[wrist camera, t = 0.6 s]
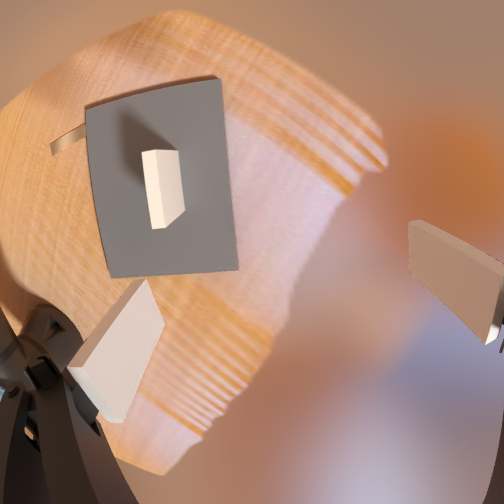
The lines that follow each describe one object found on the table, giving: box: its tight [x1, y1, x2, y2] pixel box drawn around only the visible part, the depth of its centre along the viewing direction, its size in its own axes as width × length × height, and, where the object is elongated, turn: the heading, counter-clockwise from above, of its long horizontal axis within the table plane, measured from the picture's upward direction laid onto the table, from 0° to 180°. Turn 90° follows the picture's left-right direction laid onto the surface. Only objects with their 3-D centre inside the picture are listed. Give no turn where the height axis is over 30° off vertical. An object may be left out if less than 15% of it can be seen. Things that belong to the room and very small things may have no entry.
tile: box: [142, 150, 185, 229], centre depth 30 cm, size 2×8×9 cm, turn 5°
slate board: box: [85, 79, 239, 278], centre depth 35 cm, size 20×26×1 cm
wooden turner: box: [50, 123, 87, 155], centre depth 33 cm, size 20×6×1 cm, turn 104°
